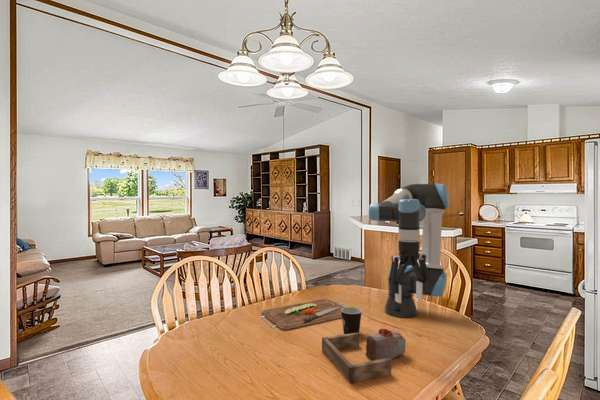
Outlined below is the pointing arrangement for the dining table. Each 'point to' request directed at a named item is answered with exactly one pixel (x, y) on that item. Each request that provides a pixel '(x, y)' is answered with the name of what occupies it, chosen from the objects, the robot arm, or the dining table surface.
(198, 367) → the dining table surface
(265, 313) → the chopping board
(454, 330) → the dining table surface
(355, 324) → the coffee mug
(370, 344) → the food item
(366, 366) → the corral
